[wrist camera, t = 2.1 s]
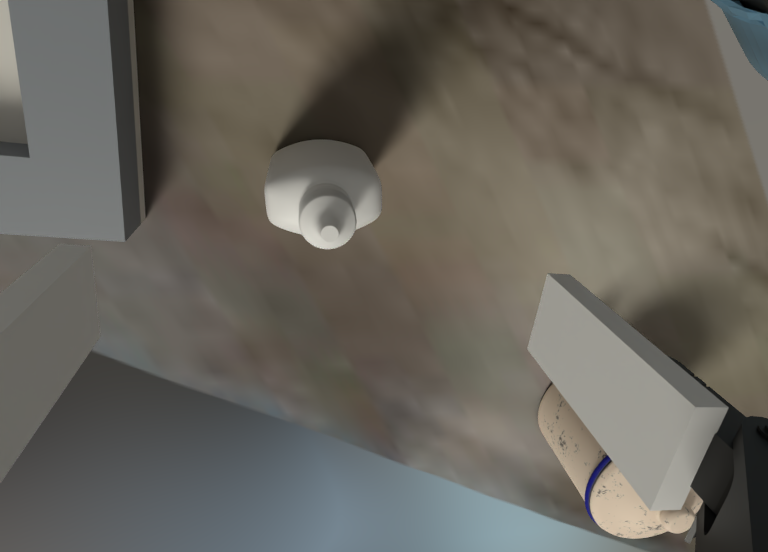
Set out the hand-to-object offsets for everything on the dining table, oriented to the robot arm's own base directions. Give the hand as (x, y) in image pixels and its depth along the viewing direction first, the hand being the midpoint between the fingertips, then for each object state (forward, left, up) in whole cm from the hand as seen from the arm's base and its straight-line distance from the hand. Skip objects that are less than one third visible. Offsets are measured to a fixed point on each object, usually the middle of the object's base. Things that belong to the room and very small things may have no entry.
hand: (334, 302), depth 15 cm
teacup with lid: (+16, +22, -18) cm, 33 cm away
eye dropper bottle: (0, 0, -18) cm, 18 cm away
